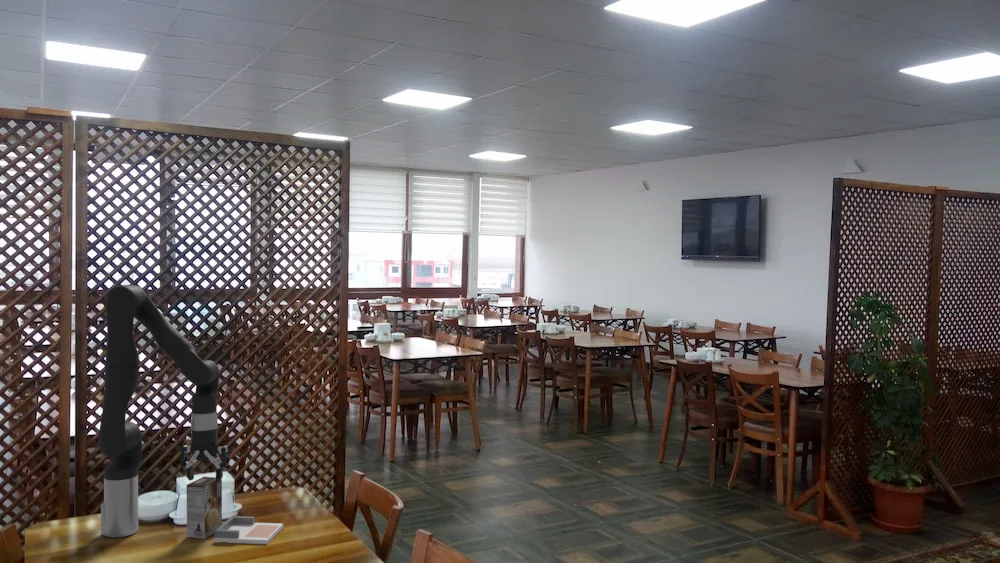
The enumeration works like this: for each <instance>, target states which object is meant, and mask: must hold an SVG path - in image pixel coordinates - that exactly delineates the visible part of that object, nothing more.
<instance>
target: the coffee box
mask: <svg viewBox="0 0 1000 563" xmlns="http://www.w3.org/2000/svg"><path fill="white" fill-rule="evenodd" d="M222 478H223V477H222ZM222 478H221V480H219V481H216V476H215V477H214V476H213V477H212V476H202V477H201V478H199V479H196V480H194V481H192V482H189V483H188V484H186V538H190V537H193V539H201V538H202V540H206V539H207V538H208V537H210V536H212V535H213V534H214V535H215V530H216V529H217V528H219V527H220V526H221V525H222V524H223V513H222V512H223V500H222V499H223V496H222V495H223V493H222V492H223V486H222V483H223V482H222V480H223V479H222ZM205 538H206V539H205Z"/></svg>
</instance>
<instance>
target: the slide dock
mask: <svg viewBox="0 0 1000 563" xmlns="http://www.w3.org/2000/svg"><path fill="white" fill-rule="evenodd" d="M255 521H256V518H255V516H246V515H245V516H243V515H242V516H241V515H240V516H239V515H232V516H231V517H230V518H229V519H227V520H226V521H225V522H223V523H222V525H221V526H220V527H219V528H217V529H216V530H215V533H214V537H213V543H220V542H228V543H229V544H250V545H252V544H253V545H254V544H255V545H268V544H269V543H270V542H271V541H272V540H273V539H274V538H275V537H276V535H277V534H278V533H279V532H281V530H283V528H284V523H280V522H279V523H278V522H274V523H273V522H255ZM273 537H274V538H273ZM228 543H227V544H228Z"/></svg>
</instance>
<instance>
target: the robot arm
mask: <svg viewBox="0 0 1000 563" xmlns="http://www.w3.org/2000/svg"><path fill="white" fill-rule="evenodd" d="M105 312H106V326H107V327H106V329H107V331H106V333H107V334H106V345H105V346H106V349H105V350H106V351H105V364H104V390H103V399H102V400H103V404H102V413H101V418H100V419H101V420H100V424H99V430H98V438H97V439H98V448H99V450H100V452H101V453H102V454H103V455H104V456H105V457H106V458H112V459H111V460H110V462H109V463H108V464H107V466H105V468H104V469H103V502H102V503H101V504H100V536H105V537H107V538H122V537H127V536H131V535H133V534H136V533H138V531H139V469H140V467H141V462H142V450H143V436H142V435H143V434H142V431H141V429H140V427H139V426H138V424H136V423H135V422H133V421H126V415H127V411H128V407H129V404H130V402H131V400H132V398H133V395H134V393H135V391H136V389H137V386H138V383H139V377H140V364H141V363H140V356H139V350H138V348H137V344H136V341H135V338H134V318H135V319H136V320H138V321H139V322H140V323H141V324H142V325H143V326H144V327H145V328H146V329H147V330H148V331H149V333H150V335H151V337H153V338H152V339H154V342H155V343H156V344H157V345H158V347H159V348H160V349H161V350H162V352H164V353H165V355H167V357H169V359H171V360H172V361H173V362H174V363H175V364H176V365H177V366H178V368H179V370H180V371H181V372H182V374H183V376H185V378H186V379H187V380H188V381H190V383H192V384H193V385H195V391H194V394H193V395H192V396H191V417H190V418H191V419H190V441H191V442H190V444H191V445H188V444H184V445H182V446H181V447H180V457H179V458H180V460H179V465H180V466H181V467H184V468H186V478H187V479H188V481H192V480H194V477H195V466H194V465H195V464H196V462H197V461H198V462H201V461H205V462H209V461H210V462H211V464H213V465H214V466H215V468H216V469H215V477H216V481H219V480H221V478H223V476H224V473H223V472H224V468H226V467H227V466H229V465H230V455H229V454H230V453H229V446H228V445H227V444H226V445H224V446H219V444H218V440H219V437H218V434H219V431H218V430H219V428H218V427H219V423H218V422H219V421H218V413H217V412H218V411H217V410H218V409H217V408H218V405H217V404H218V403H217V394H218V389H219V384H220V383H219V382H220V369H219V365H218V364H217V363H216V362H215V361H213V360H210V359H209V360H208V359H206V360H202V359H201V358H200V356H199V355H198V354H197V350H196V347H195V346H194V345H193V344H192V343H191V342H190V341H189V340H188V339H187V338H186V337H185V336H184V335H182V334H181V332H180V331H178V330H177V329H176V327H174V326H173V325H172V324H171V323H170V321H169V320H167V318H166V317H165V315H163V313H162V312H161V311H160V310H159V308H157V305H155V303H154V302H153V301H152V299H151V298H150V297H149V295H148V294H147V292H145V291H144V289H143V288H142V287H141V286H139V285H136V284H124V285H123V284H121V285H117V286H114V287H112V288H111V289H110V290H109V291H108V293H107V295H106V298H105ZM190 452H191V454H192V456H191V457H190V459H189V460H188V458H189V453H190ZM218 452H219V453H220V454H221V455H220V456H221V457H220V456H219V455H218Z"/></svg>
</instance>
